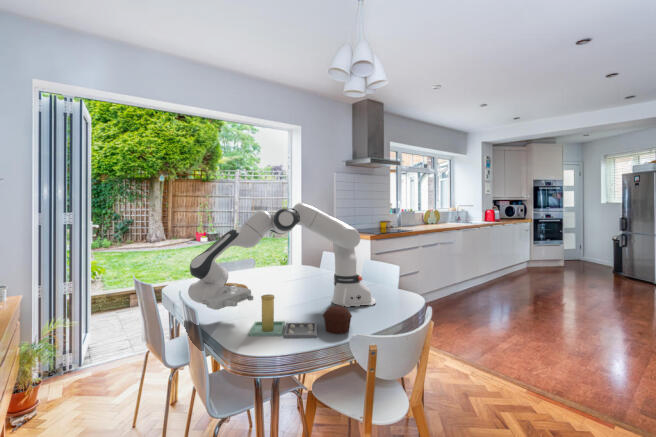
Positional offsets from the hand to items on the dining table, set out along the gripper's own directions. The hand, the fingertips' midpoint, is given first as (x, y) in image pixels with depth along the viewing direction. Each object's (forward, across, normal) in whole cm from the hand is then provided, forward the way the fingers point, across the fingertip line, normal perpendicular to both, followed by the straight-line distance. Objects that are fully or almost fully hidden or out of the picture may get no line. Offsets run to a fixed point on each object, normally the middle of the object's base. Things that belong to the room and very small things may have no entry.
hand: (244, 301), depth 130 cm
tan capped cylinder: (+12, 0, +10) cm, 15 cm away
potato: (-33, +29, +11) cm, 45 cm away
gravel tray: (+24, +5, +10) cm, 26 cm away
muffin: (+35, +13, +10) cm, 39 cm away
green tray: (+12, 0, +10) cm, 16 cm away
